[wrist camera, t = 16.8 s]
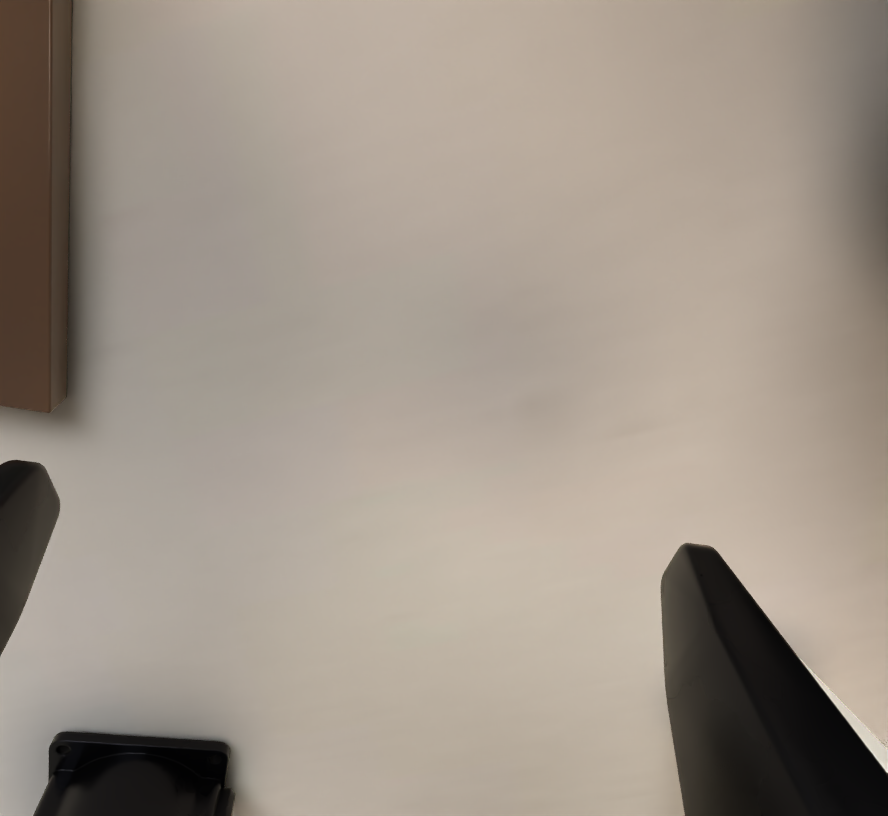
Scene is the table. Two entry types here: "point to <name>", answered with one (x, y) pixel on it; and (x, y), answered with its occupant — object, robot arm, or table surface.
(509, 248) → the table surface
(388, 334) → the table surface
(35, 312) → the walnut board
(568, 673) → the table surface
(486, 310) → the table surface
